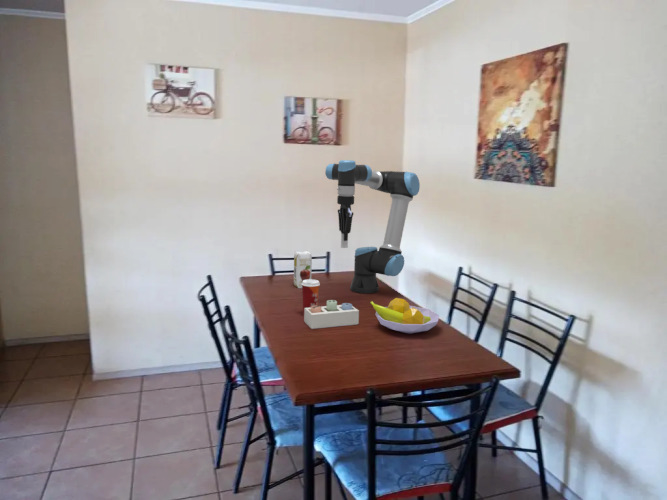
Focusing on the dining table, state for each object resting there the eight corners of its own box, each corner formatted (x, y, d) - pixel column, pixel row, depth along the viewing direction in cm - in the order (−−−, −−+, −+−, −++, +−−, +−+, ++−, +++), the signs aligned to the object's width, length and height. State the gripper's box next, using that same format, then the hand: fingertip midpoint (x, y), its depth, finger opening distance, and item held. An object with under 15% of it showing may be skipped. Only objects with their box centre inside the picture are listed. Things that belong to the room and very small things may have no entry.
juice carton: (292, 285, 278) (293, 251, 275) (307, 284, 282) (307, 250, 278) (297, 289, 271) (298, 253, 268) (312, 287, 275) (313, 253, 272)
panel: (349, 317, 227) (349, 304, 226) (358, 324, 218) (358, 310, 217) (304, 321, 219) (304, 307, 218) (311, 328, 210) (311, 314, 209)
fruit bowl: (440, 321, 225) (441, 296, 223) (435, 342, 199) (436, 314, 197) (377, 314, 232) (378, 290, 230) (364, 334, 206) (365, 306, 204)
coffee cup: (316, 317, 226) (317, 284, 223) (298, 315, 227) (299, 282, 225) (321, 311, 234) (321, 279, 231) (303, 309, 235) (304, 278, 233)
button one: (349, 315, 223) (349, 302, 222) (353, 318, 219) (353, 304, 218) (339, 316, 222) (340, 302, 221) (343, 319, 218) (344, 305, 217)
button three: (318, 318, 218) (319, 304, 217) (322, 321, 214) (322, 307, 213) (309, 319, 217) (309, 305, 216) (312, 322, 213) (312, 308, 212)
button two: (334, 313, 221) (334, 299, 219) (338, 316, 217) (338, 301, 215) (324, 313, 219) (325, 299, 218) (328, 316, 215) (328, 302, 214)
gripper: (332, 194, 232) (331, 245, 236) (343, 196, 220) (341, 250, 225) (348, 194, 235) (346, 244, 239) (359, 196, 223) (357, 249, 227)
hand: (344, 247), depth 232 cm, fingers closed
